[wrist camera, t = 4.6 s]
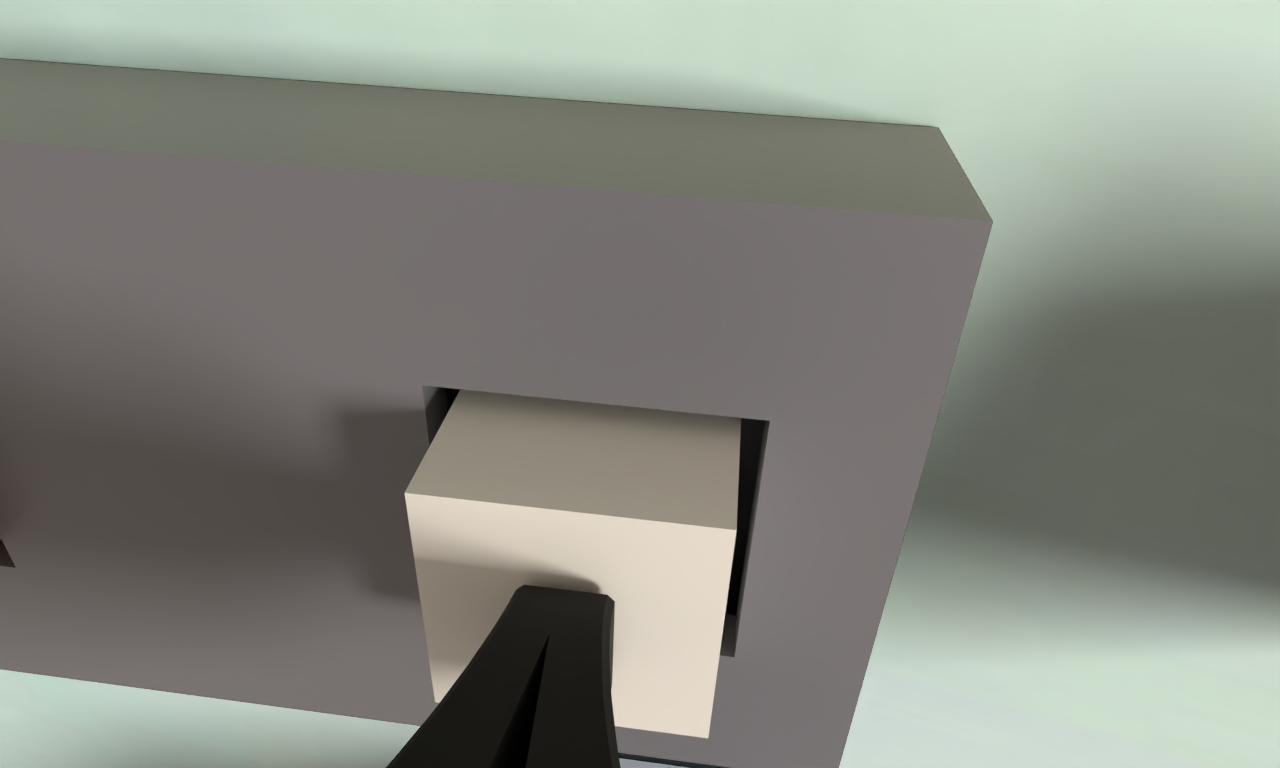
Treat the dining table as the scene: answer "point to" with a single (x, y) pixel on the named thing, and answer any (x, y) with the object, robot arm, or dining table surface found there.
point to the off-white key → (583, 537)
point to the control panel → (445, 367)
